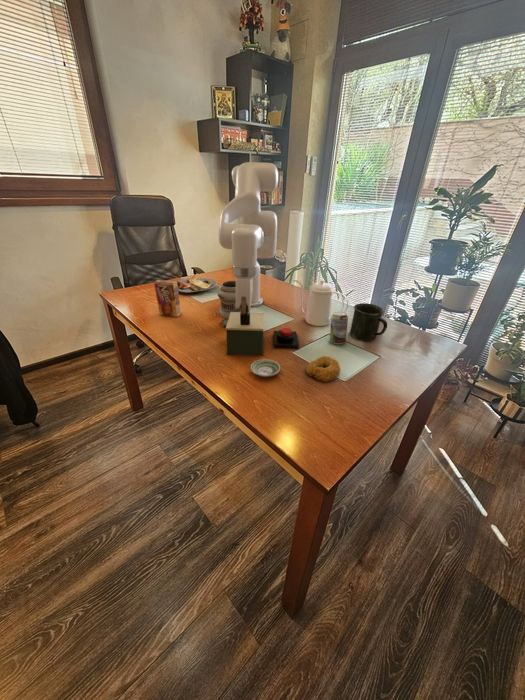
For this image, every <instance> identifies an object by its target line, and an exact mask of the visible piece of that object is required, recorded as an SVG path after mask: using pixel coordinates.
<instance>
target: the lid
mask: <svg viewBox="0 0 525 700" xmlns="http://www.w3.org/2000/svg"><path fill="white" fill-rule="evenodd" d="M240 313H241V312H230V316H229V319H228V322H227V326H226V328H225V331H226V330H251V331H263V332H264V323H263V322H264V319H265V317H264V316H265V313H264V312H249V313H250V325H241V324H240Z"/></svg>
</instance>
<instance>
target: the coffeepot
mask: <svg viewBox="0 0 525 700" xmlns="http://www.w3.org/2000/svg"><path fill="white" fill-rule="evenodd" d="M293 282H296V283H298V284H299V285H300V310H301V312H302V313H303V315H304V320H305V322H306V323H307V324H308V325H310V326H313V327H324V326H327V325H329V324H330V323H331V310H332V309H331V308H332V296H333V294H336V295H338V296H339V298H340V299H341V301H342V308H341V311H340V312H343V311H344V312H346V311H347V310H348V307H349V299H348V297H347V296H346V295H345V294H344V293H342V292H340V291H334V290H333V287H332V285H331V284H329V283H328V282H326V280H325V279H320V280H319V281H318V282H317V281H316V282H313V283H312V284H311V286H310V287H309V294H308V298H307V299H308V300H307V305H306V310H304V301H303V300H304V284H303V283H302V281H300V280H298V279H294V280H293ZM343 297H344V298H343ZM344 299H345V300H344ZM345 301H346V308H345V310H344V307H345Z"/></svg>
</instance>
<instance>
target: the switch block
mask: <svg viewBox="0 0 525 700" xmlns="http://www.w3.org/2000/svg"><path fill="white" fill-rule="evenodd" d="M291 331H292V332H291V336H282V335H281V329H279V330H273V348H274V349H291V350H299V347H300V346H299V339H298V333H297V331H295V330H291Z"/></svg>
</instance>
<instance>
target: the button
mask: <svg viewBox="0 0 525 700" xmlns="http://www.w3.org/2000/svg"><path fill="white" fill-rule="evenodd" d="M280 330H281V335H282V336H291V332H292V331H293V330H292V329H291V328H289V327H282V328H281V329H280Z"/></svg>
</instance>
